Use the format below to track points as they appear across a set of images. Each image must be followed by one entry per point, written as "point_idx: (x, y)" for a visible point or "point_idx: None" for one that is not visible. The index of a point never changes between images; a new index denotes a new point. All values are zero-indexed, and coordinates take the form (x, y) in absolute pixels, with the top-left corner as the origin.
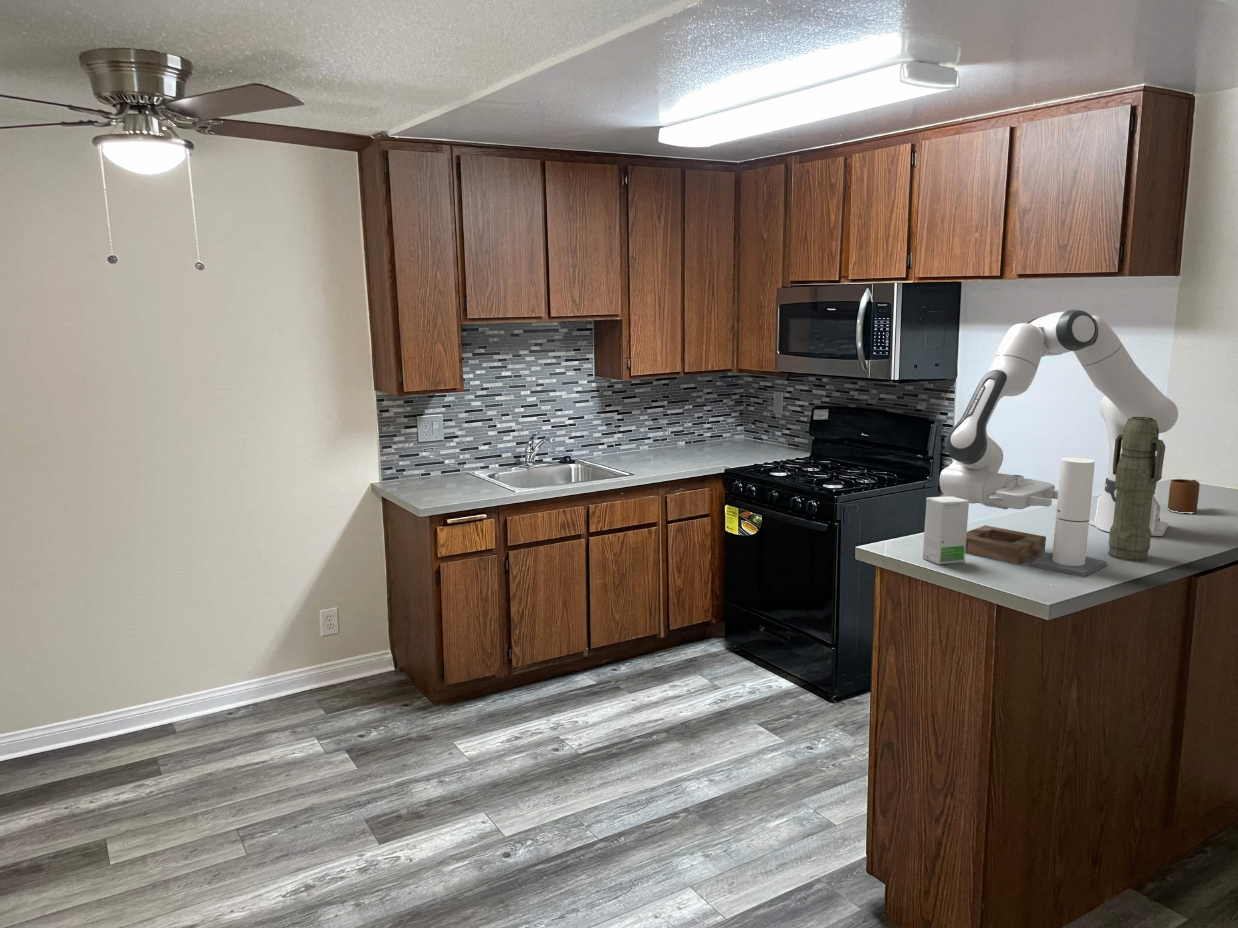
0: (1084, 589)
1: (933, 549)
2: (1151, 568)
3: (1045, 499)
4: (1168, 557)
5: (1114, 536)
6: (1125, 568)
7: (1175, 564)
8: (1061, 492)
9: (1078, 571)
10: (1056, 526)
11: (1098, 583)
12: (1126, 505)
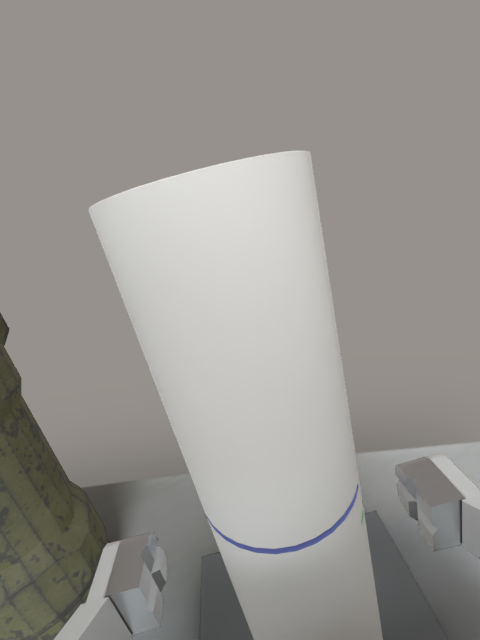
0: (457, 455)
1: None
2: (160, 491)
3: (461, 473)
4: None
5: (67, 566)
6: (201, 518)
7: (96, 488)
8: (343, 391)
9: (383, 526)
10: (362, 572)
11: (381, 470)
12: (29, 451)
